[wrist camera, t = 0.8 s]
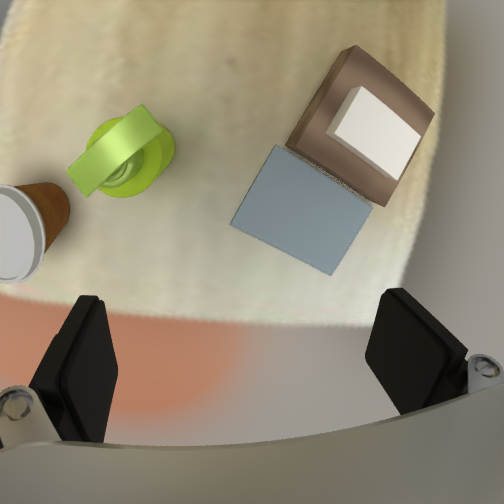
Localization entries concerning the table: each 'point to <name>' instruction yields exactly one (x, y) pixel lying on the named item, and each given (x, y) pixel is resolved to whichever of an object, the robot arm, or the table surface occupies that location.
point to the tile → (373, 132)
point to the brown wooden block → (327, 105)
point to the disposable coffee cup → (28, 227)
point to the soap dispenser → (124, 155)
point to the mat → (301, 212)
